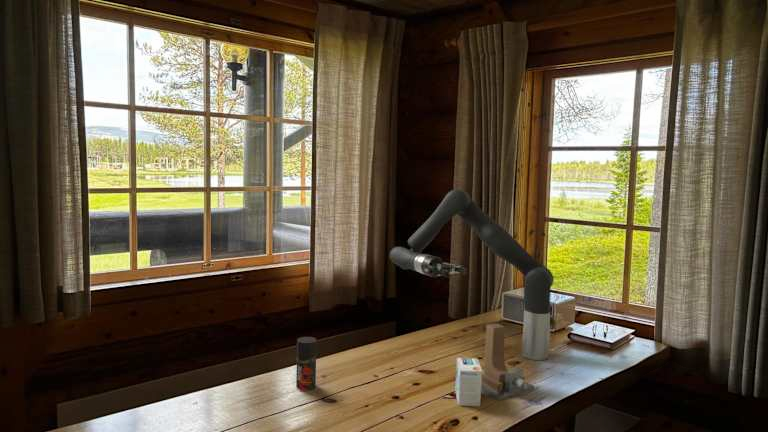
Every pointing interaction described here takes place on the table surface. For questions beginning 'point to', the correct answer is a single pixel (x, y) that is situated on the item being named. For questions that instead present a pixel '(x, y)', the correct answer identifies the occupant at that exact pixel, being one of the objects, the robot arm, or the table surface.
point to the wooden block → (495, 353)
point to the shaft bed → (510, 385)
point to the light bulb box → (468, 381)
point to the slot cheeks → (492, 383)
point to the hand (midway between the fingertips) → (457, 273)
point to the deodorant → (306, 363)
